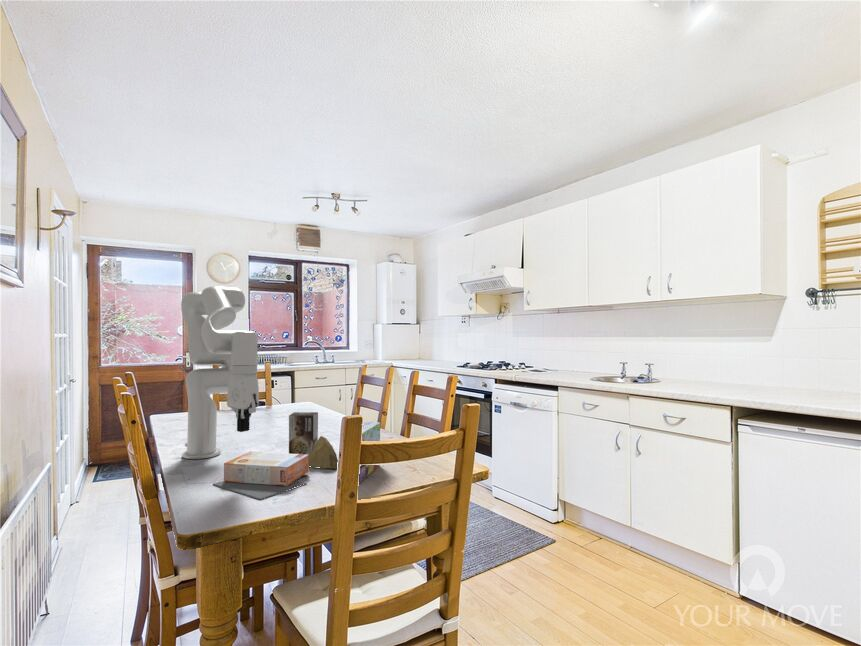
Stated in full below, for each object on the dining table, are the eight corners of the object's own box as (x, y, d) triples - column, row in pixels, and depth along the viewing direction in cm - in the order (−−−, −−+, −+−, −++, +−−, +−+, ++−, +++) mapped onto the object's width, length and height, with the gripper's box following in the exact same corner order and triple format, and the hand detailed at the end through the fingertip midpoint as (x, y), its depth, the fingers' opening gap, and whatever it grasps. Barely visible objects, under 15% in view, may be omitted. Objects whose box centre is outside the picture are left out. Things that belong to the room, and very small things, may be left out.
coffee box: (318, 456, 167) (318, 411, 168) (313, 461, 161) (314, 415, 161) (293, 455, 167) (294, 411, 168) (287, 460, 161) (288, 414, 161)
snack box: (359, 485, 135) (360, 434, 135) (342, 484, 136) (342, 433, 136) (380, 465, 156) (381, 421, 156) (364, 464, 157) (365, 420, 157)
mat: (212, 485, 134) (212, 483, 134) (259, 471, 147) (259, 470, 148) (260, 500, 122) (260, 498, 122) (306, 484, 135) (306, 482, 136)
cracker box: (222, 483, 136) (287, 487, 131) (222, 462, 136) (287, 465, 132) (250, 469, 149) (309, 472, 145) (250, 450, 149) (309, 453, 145)
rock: (347, 460, 153) (334, 450, 161) (335, 443, 149) (322, 433, 157) (322, 484, 148) (310, 472, 156) (308, 466, 145) (296, 455, 152)
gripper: (218, 370, 141) (217, 430, 141) (248, 372, 133) (247, 436, 133) (240, 369, 148) (239, 426, 147) (269, 371, 139) (269, 431, 139)
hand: (243, 430), depth 140 cm, fingers closed
